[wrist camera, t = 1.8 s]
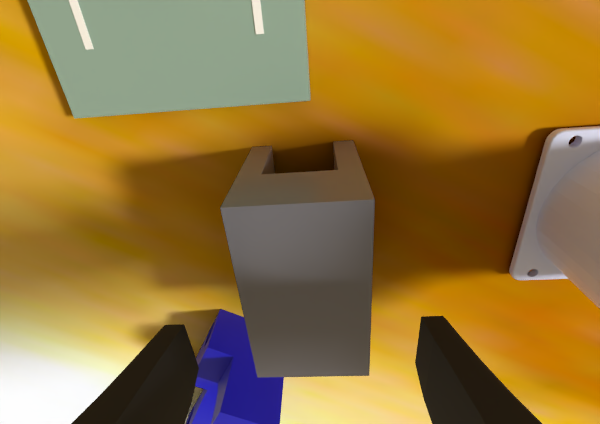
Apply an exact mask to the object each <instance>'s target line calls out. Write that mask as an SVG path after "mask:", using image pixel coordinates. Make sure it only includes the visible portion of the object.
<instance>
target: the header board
mask: <svg viewBox="0 0 600 424" xmlns="http://www.w3.org/2000/svg"><path fill="white" fill-rule="evenodd" d="M27 1H28V3H29V6H30V8H31V11H32V13H33V16H34V18H35V21H36V23H37V26H38V28H39V31H40V33H41V36H42V38H43V41H44V43H45V46H46V48H47V51H48V53H49V56H50V59H51V61H52V64H53V66H54V69H55V71H56V74H57V76H58V79H59V81H60V84H61V86H62V89H63V91H64V94H65V96H66V99H67V101H68V104H69V106H70V109H71V111H72V114H73V116H74V118H86V117H99V116H113V115H126V114H139V113H152V112H166V111H179V110H192V109H205V108H219V107H232V106H245V105H259V104H272V103H285V102H298V101H310V82H309V65H308V49H307V33H306V16H305V0H27Z"/></svg>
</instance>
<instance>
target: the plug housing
mask: <svg viewBox="0 0 600 424" xmlns="http://www.w3.org/2000/svg"><path fill="white" fill-rule="evenodd" d="M333 152H334V170H327V171H310V172H294V173H277V174H275V168H274V160H273V152H272V146H259V147H252V149H251V150H250V152H249V154H248V156H247V158H246V160H245V162H244V164H243V166H242V167H241V169H240V171H239V173H238V175H237V177H236V179H235V181H234V183H233V185H232V186H231V188H230V190H229V192H228V194H227V196H226V198H225V200H224V202H223V203H222V205H221V207H220V209H221V214H222V218H223V223H224V228H225V232H226V237H227V241H228V246H229V250H230V255H231V259H232V264H233V269H234V273H235V278H236V282H237V287H238V291H239V296H240V300H241V305H242V310H243V314H244V319H245V323H246V328H247V332H248V337H249V342H250V346H251V351H252V355H253V360H254V364H255V369H256V373H257V377H313V376H369V365H370V334H371V303H372V272H373V241H374V210H375V199H374V196H373V193H372V190H371V188H370V185H369V182H368V179H367V177H366V174H365V171H364V168H363V166H362V163H361V160H360V157H359V155H358V152H357V149H356V146H355V144H354V141H353V140H349V141H334V142H333Z"/></svg>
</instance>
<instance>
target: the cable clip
mask: <svg viewBox="0 0 600 424" xmlns="http://www.w3.org/2000/svg"><path fill="white" fill-rule="evenodd" d="M196 361H197V364H198V367H199V370H198V375H197V379H196V384H195V386H196V387H199V388H202V389H203V391H202V393H201V394H200V396H199V398H198V400H197V402H196V403H195V405H194V407H193V409H192V411H191V412H190V414H189V416H188V419H187V422H186V424H280V413H281V402H282V390H283V379H284V377H257V373H256V369H255V364H254V360H253V355H252V351H251V346H250V342H249V337H248V332H247V328H246V323H245V319H244V317H241V316H239V315H236V314H233V313H230V312H228V311H225V310H222V309H220V311H219V313H218V315H217V317H216V319H215V321H214V323H213V325H212V327H211V329H210V331H209V333H208V335H207V337H206V339H205V341H204V343H203V345H202V347H201V349H200V351H199V353H198V355H197V357H196Z"/></svg>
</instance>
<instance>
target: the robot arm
mask: <svg viewBox="0 0 600 424" xmlns="http://www.w3.org/2000/svg"><path fill="white" fill-rule="evenodd" d="M574 136H576V139H575V140H574V142H573V143H571V144H569V141H570V139H571V138H572V137H574ZM532 269H533V270H532ZM530 270H532V271H530ZM529 271H530V272H529ZM509 273H510V274H511V276H512V277H513V278H514V279H516V280H541V279H569V280H570V281H572V282H573V283H574V284H575V285H576V286H577V287H578V288H579V289H580V290H581V291H582V292H583V293H584V294H585V295H586V296H587V297H588V298H589V299H590V300H591V301H592V302H593V303H594V304H595V305H596V306H597V307H598V308H599V309H600V126H591V127H576V128H561V129H557V130H555V131H553V132H551V133H550V134H549V135H548V136H547V138H546V141H545V144H544V147H543V151H542V155H541V158H540V162H539V165H538V169H537V173H536V176H535V180H534V183H533V187H532V190H531V194H530V198H529V201H528V205H527V208H526V212H525V215H524V219H523V223H522V226H521V230H520V233H519V237H518V241H517V244H516V248H515V251H514V255H513V258H512V262H511V266H510V269H509ZM415 363H416V368H417V372H418V376H419V381H420V385H421V389H422V393H423V397H424V401H425V403H426V406H427V409H428V412H429V415H430V418H431V421H432V424H542V423H541V422H540V421H539V420H538V419H537V418H536V417H535V416H534V415H533V414H532V413H531V412H530V411H529V410H528V409H527V408H526V407H525V406H524V405H523V404H522V403H521V402H520V401H519V400H518V399H517V398H516V397H515V396H514V395H513V394H512V393H511V392H510V391H509V390H508V389H507V388H506V387H505V386H504V384H503V383H502V382H501V381H500V380H499V379H498V378H497V377H496V376H495V375H494V374H493V373H492V372H491V371H490V369H489V368H488V367H487V366H486V365H485V364H484V363H483V362H482V361H481V360H480V358H479V357H478V356H477V355H476V354H475V353H474V352H473V350H472V349H471V348H470V347H469V346H468V345H467V344H466V342H465V341H464V340H463V339H462V338H461V336H460V335H459V334H458V333H457V332H456V331H455V329H454V328H453V327H452V326H451V325H450V323H449V322H448V321H447V320H446V319H445V318H444V317H443V316H429V317H421V324H420V331H419V339H418V346H417V354H416V362H415ZM198 370H199V367H198V364H197V361H196V358H195V355H194V352H193V349H192V346H191V343H190V340H189V337H188V334H187V332H186V329H185V326H184V325H165V326H164V327H163V328H162V329H161V330H160V331H159V332H158V333H157V334H156V335H155V336H154V338H153V339H152V340H151V341H150V342H149V343H148V344H147V345H146V346H145V347H144V349H143V350H142V351H141V352H140V353H139V354H138V355H137V356H136V357H135V358H134V360H133V361H132V362H131V363H130V364H129V365H128V366H127V367H126V368H125V369H124V370H123V371H122V373H121V374H120V375H119V376H118V377H117V378H116V379H115V380H114V381H113V382H112V383H111V384H110V385H109V386H108V387H107V388H106V390H105V391H104V392H103V393H102V394H101V395H100V396H99V397H98V398H97V399H96V400H95V401H94V402H93V403H92V404H91V405H90V406H89V407H88V408H87V409H86V410H85V411H84V412H83V413H82V414H81V415H80V416H79V417H78V418H77V419H76V420H75V421H74V422H73V423H72V424H184V423H185V420H186V417H187V414H188V411H189V408H190V405H191V401H192V397H193V393H194V389H195V384H196V379H197V375H198Z"/></svg>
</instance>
